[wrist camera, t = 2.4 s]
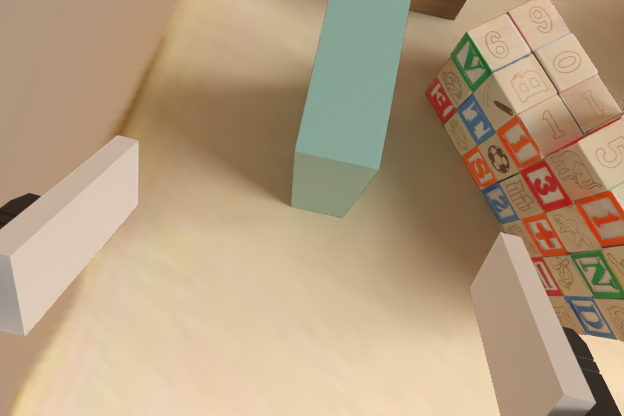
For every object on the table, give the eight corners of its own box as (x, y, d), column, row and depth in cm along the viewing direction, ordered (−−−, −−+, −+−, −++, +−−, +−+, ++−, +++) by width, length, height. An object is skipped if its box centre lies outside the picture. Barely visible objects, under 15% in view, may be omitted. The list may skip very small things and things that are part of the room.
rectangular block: (365, 97, 37) (414, -19, 23) (342, 217, 35) (379, 169, 21) (317, 87, 37) (336, -36, 23) (290, 206, 35) (294, 151, 21)
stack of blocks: (421, 93, 37) (486, -3, 25) (485, 62, 38) (578, -45, 26) (561, 333, 34) (710, 356, 22) (627, 294, 35) (806, 296, 23)
